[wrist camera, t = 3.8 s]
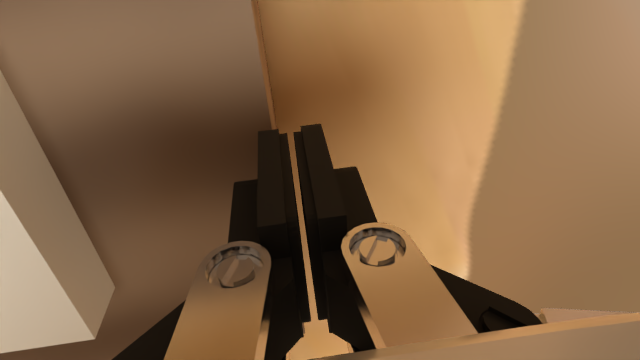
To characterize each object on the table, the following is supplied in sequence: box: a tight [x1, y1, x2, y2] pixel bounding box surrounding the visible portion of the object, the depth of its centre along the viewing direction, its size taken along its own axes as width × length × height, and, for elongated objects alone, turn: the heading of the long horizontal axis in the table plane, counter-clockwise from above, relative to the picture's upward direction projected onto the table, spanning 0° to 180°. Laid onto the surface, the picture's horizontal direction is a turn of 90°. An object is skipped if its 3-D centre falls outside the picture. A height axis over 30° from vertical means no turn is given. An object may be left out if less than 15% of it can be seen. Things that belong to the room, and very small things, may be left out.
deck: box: [0, 0, 305, 360], centre depth 13 cm, size 16×16×4 cm
